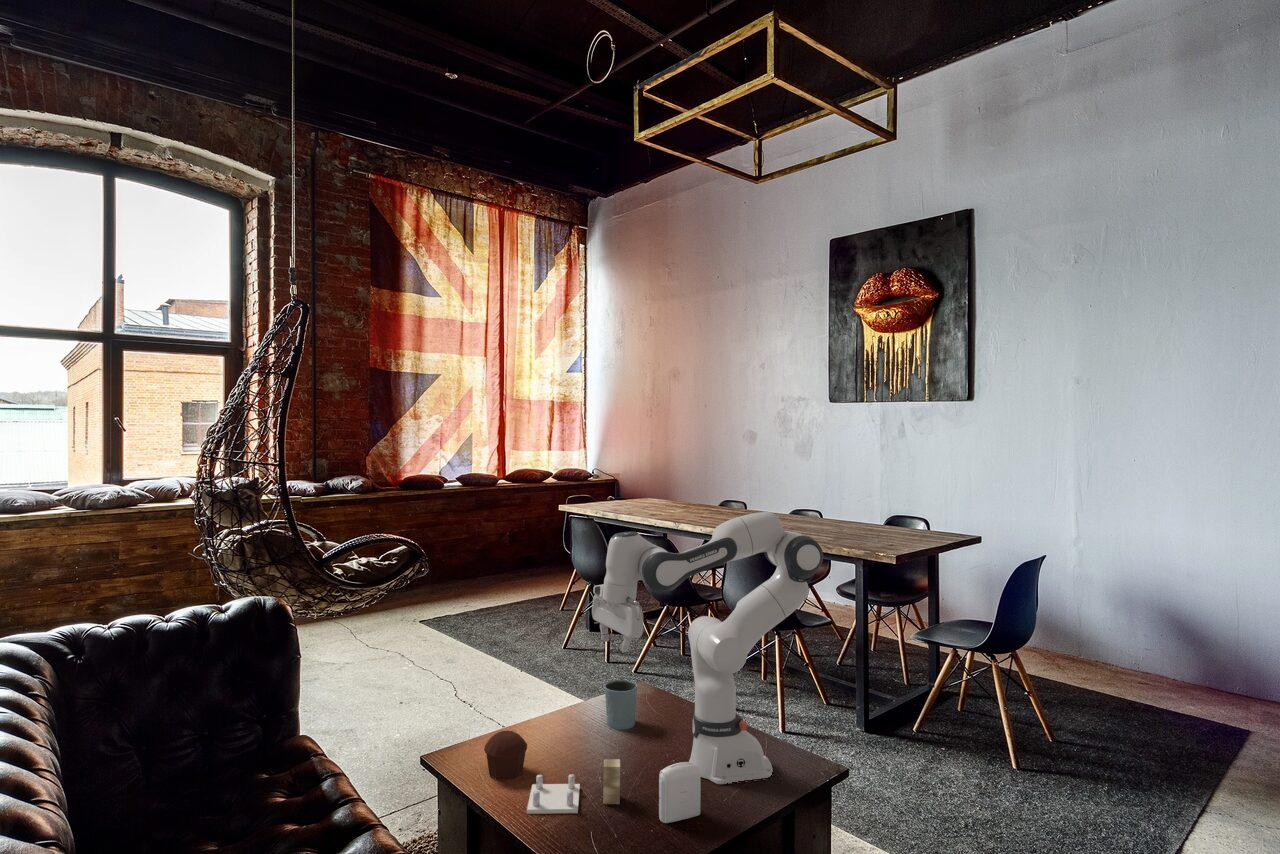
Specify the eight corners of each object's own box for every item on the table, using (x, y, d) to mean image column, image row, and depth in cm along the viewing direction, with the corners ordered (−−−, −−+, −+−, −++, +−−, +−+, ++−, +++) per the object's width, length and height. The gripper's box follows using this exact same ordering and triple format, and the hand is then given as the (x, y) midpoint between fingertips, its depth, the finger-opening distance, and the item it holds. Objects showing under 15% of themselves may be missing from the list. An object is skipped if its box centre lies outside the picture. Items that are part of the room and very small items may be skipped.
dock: (579, 787, 179) (579, 771, 179) (577, 813, 167) (577, 796, 167) (532, 788, 178) (532, 772, 178) (526, 813, 166) (527, 796, 166)
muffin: (533, 776, 185) (534, 737, 185) (493, 786, 179) (493, 747, 179) (516, 757, 195) (517, 721, 195) (477, 767, 189) (478, 730, 189)
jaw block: (619, 795, 175) (619, 759, 175) (619, 803, 171) (620, 766, 171) (603, 795, 175) (603, 759, 175) (603, 804, 171) (603, 766, 171)
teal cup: (639, 729, 215) (640, 689, 215) (607, 732, 212) (607, 692, 212) (632, 716, 224) (633, 678, 224) (601, 718, 222) (601, 680, 222)
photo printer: (663, 826, 162) (664, 772, 162) (655, 816, 166) (656, 763, 166) (703, 816, 166) (703, 764, 166) (694, 807, 170) (695, 756, 170)
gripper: (651, 602, 179) (646, 657, 178) (609, 584, 196) (604, 634, 195) (630, 603, 175) (625, 659, 175) (590, 585, 192) (585, 636, 192)
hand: (614, 646), depth 185 cm, fingers open, 8 cm apart
